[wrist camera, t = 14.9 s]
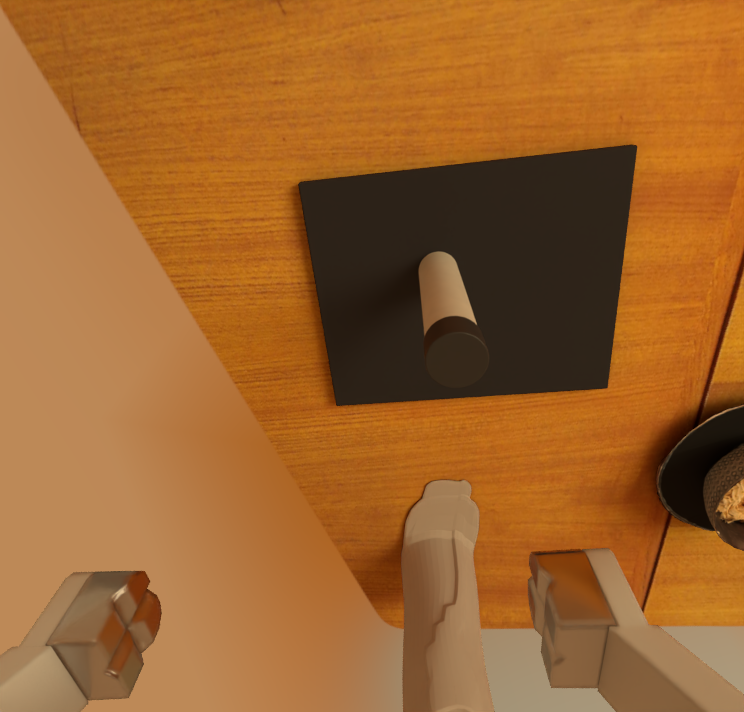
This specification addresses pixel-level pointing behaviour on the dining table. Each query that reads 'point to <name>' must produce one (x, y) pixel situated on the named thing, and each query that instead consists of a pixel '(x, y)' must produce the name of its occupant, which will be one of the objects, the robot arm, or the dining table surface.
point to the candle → (442, 604)
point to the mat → (473, 270)
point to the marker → (449, 325)
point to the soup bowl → (708, 477)
